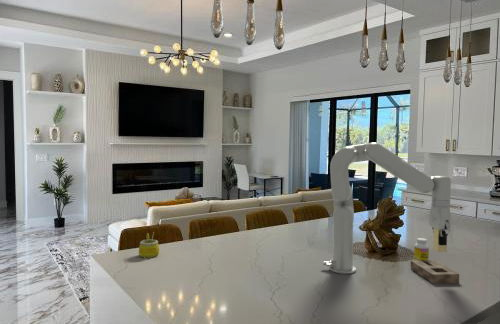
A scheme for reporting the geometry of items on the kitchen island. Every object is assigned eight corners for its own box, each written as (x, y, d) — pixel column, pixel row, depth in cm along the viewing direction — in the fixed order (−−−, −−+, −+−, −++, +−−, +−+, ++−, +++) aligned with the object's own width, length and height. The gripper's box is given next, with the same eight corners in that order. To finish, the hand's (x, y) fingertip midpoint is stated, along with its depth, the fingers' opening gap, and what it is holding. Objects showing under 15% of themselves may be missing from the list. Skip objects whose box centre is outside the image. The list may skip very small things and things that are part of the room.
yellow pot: (154, 259, 200) (154, 236, 200) (135, 258, 202) (134, 235, 202) (164, 252, 213) (164, 231, 212) (146, 251, 215) (146, 230, 214)
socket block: (432, 283, 167) (432, 274, 166) (410, 268, 187) (410, 260, 186) (458, 283, 167) (459, 274, 167) (434, 268, 187) (434, 260, 187)
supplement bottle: (420, 266, 190) (420, 241, 189) (411, 262, 196) (411, 237, 196) (431, 265, 192) (432, 240, 191) (422, 261, 198) (422, 237, 198)
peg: (438, 251, 170) (438, 229, 169) (433, 249, 174) (433, 227, 173) (446, 251, 170) (447, 229, 170) (441, 249, 174) (442, 227, 174)
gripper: (423, 200, 179) (422, 239, 180) (443, 206, 162) (442, 248, 163) (438, 200, 179) (437, 239, 180) (460, 206, 163) (459, 248, 164)
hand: (439, 243), depth 172 cm, fingers closed on peg, 4 cm apart
